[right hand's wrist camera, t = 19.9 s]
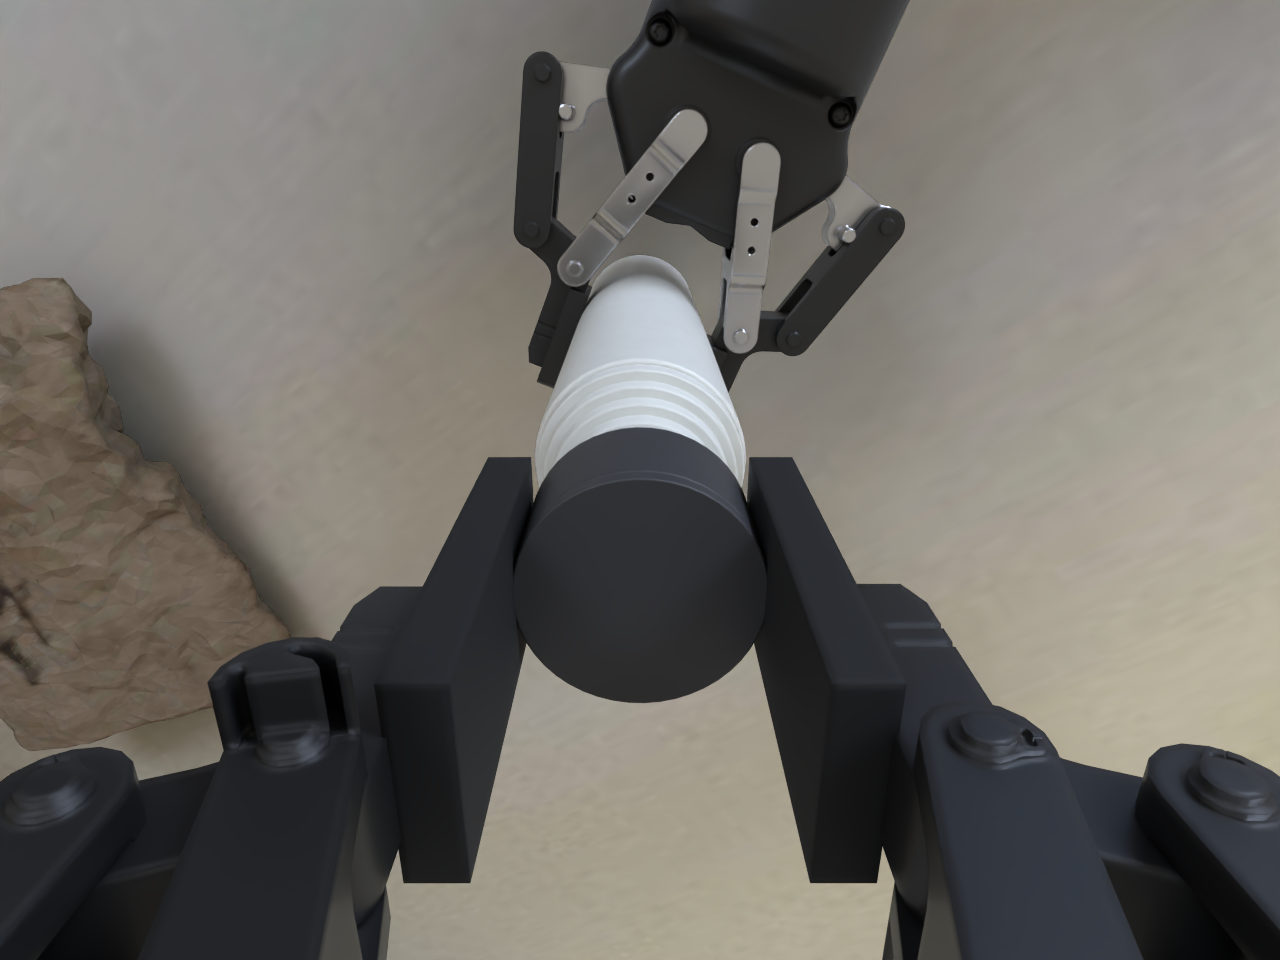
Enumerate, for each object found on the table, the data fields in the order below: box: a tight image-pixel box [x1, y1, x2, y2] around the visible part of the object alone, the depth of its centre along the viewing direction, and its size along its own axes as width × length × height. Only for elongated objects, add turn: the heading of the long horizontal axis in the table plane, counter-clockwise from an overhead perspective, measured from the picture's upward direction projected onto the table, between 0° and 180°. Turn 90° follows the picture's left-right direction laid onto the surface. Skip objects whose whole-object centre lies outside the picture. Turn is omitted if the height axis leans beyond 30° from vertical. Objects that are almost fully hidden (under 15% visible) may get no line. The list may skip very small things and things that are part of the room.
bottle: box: [535, 255, 746, 488], centre depth 24 cm, size 5×5×25 cm
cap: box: [513, 427, 767, 703], centre depth 13 cm, size 4×4×2 cm
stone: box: [0, 278, 292, 751], centre depth 37 cm, size 21×15×6 cm
